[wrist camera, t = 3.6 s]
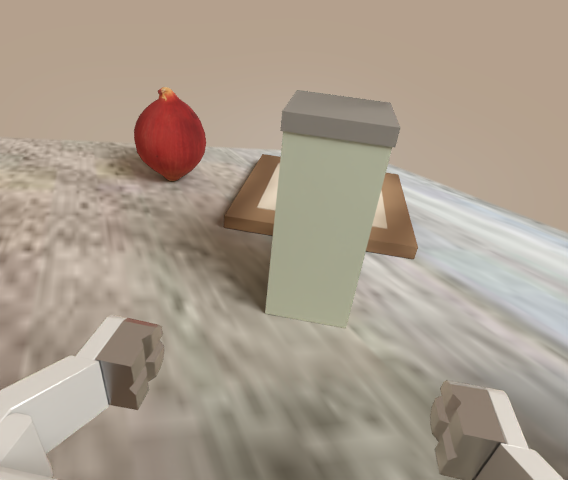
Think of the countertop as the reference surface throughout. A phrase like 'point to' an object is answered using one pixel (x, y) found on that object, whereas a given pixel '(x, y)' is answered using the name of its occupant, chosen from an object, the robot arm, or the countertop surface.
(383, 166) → the tea tin
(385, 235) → the board
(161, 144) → the onion
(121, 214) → the countertop surface
